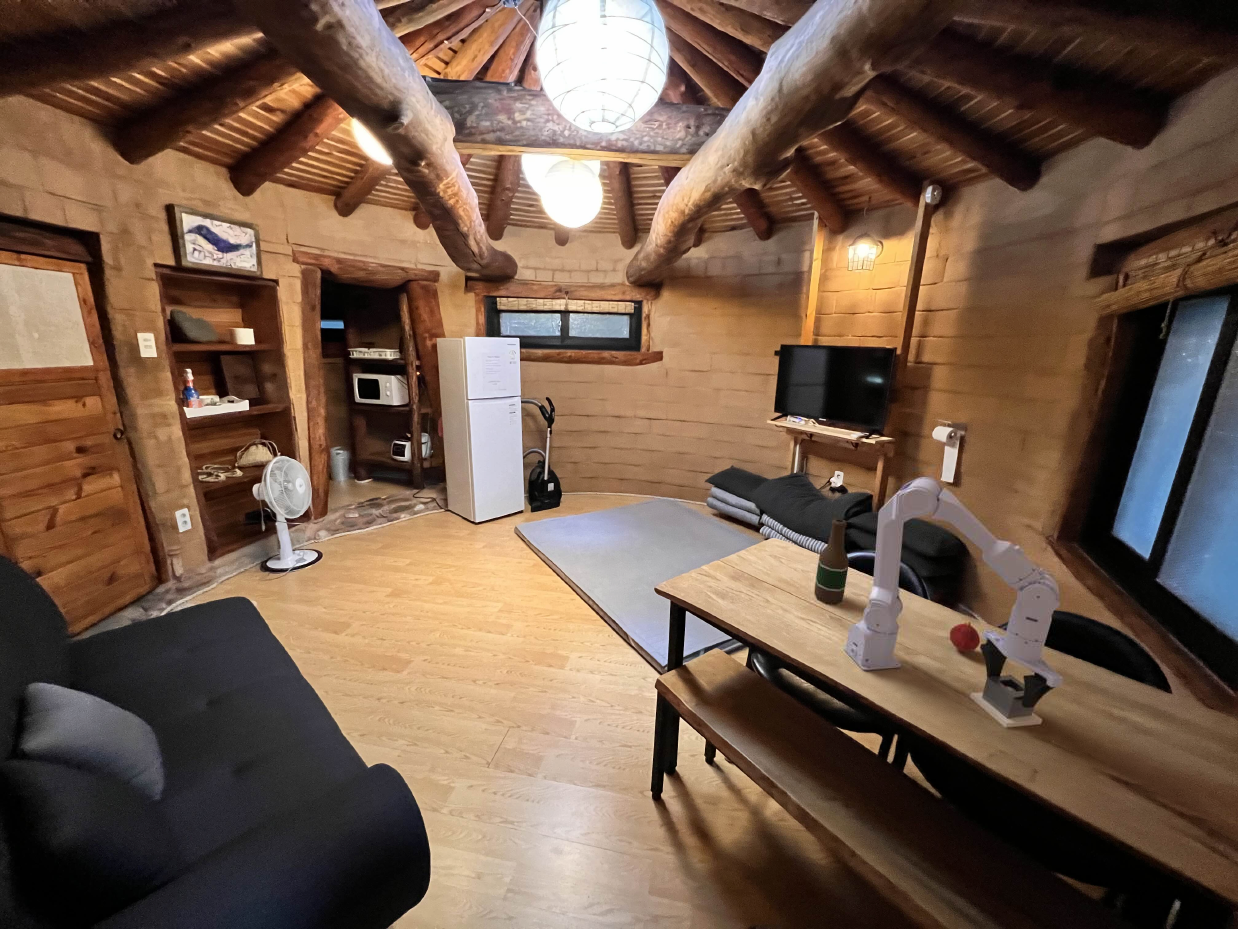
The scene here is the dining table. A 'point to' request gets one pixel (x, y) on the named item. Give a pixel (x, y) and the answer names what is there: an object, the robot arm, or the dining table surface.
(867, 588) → the dining table surface
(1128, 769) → the dining table surface
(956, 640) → the onion
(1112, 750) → the dining table surface
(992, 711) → the post block
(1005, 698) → the collar
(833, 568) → the beer bottle
